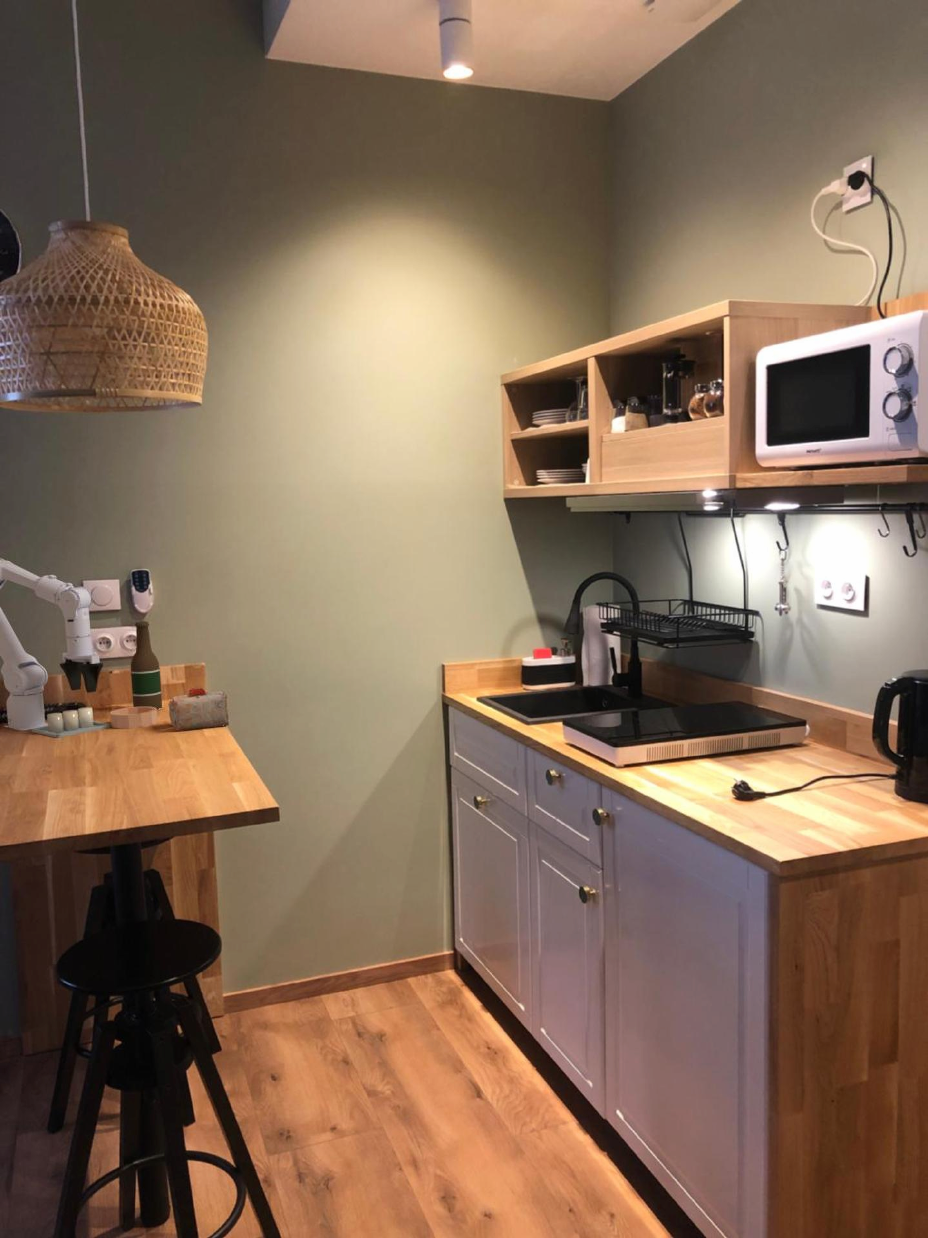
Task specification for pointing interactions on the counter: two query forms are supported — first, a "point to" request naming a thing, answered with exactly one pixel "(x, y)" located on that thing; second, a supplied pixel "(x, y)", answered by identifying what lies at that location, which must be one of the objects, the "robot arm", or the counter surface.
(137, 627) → the beer bottle
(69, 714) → the glossy cream rounded cylinder
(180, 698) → the weathered grey box
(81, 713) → the cream white cylinder
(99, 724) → the tray
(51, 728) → the white cylinder
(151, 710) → the bowl
